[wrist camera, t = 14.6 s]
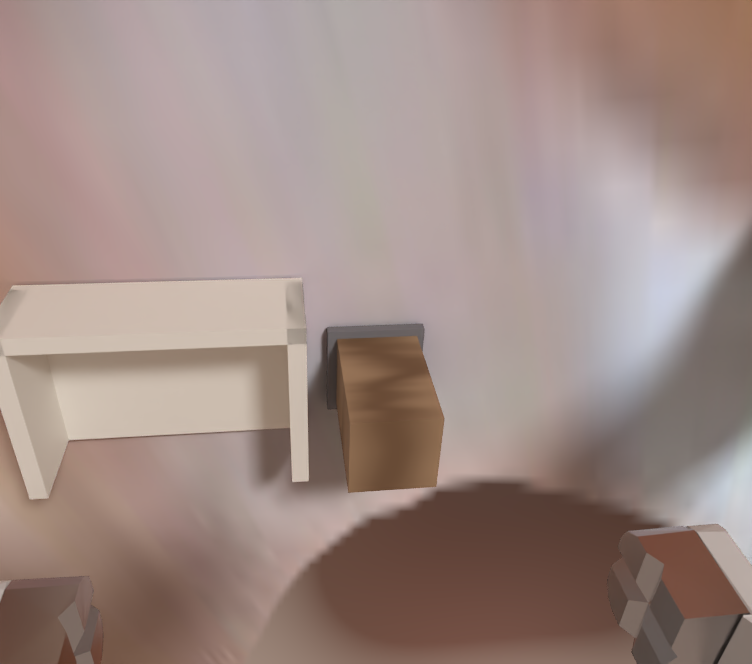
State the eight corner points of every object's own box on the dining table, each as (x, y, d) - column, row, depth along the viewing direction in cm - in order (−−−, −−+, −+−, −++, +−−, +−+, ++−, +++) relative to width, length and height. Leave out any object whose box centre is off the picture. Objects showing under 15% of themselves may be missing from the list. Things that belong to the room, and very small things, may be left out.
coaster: (422, 323, 43) (424, 328, 43) (415, 399, 47) (417, 404, 46) (327, 327, 43) (328, 332, 42) (327, 403, 46) (327, 409, 45)
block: (417, 336, 43) (444, 418, 36) (411, 398, 46) (436, 486, 39) (337, 338, 42) (350, 423, 36) (336, 402, 45) (348, 492, 38)
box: (301, 277, 40) (306, 328, 36) (304, 422, 46) (308, 481, 42) (12, 285, 38) (-22, 340, 34) (54, 435, 44) (29, 499, 40)
